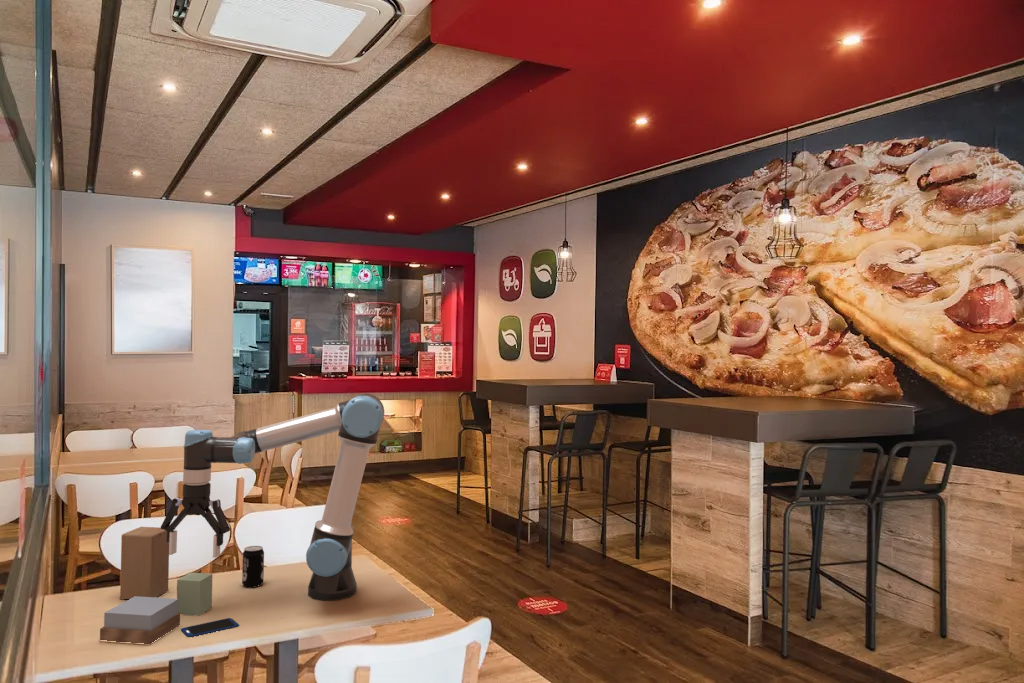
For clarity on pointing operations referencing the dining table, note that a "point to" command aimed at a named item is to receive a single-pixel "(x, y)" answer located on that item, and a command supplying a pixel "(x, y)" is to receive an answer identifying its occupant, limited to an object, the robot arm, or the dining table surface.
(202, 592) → the sage block
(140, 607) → the slate top block
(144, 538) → the wooden block
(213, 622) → the cell phone
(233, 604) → the dining table surface
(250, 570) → the beverage can
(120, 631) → the walnut base block
